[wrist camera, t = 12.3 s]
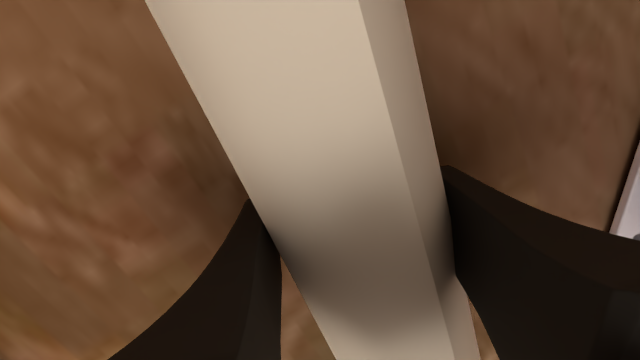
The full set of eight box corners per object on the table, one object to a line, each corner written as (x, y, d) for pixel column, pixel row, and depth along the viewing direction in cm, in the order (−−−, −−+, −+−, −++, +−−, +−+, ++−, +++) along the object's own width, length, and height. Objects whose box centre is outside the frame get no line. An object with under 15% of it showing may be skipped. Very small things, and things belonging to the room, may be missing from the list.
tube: (-235, -464, 4) (376, 495, 17) (191, -1076, 2) (514, 507, 15) (89, -289, 8) (383, 372, 21) (330, -467, 7) (491, 371, 19)
